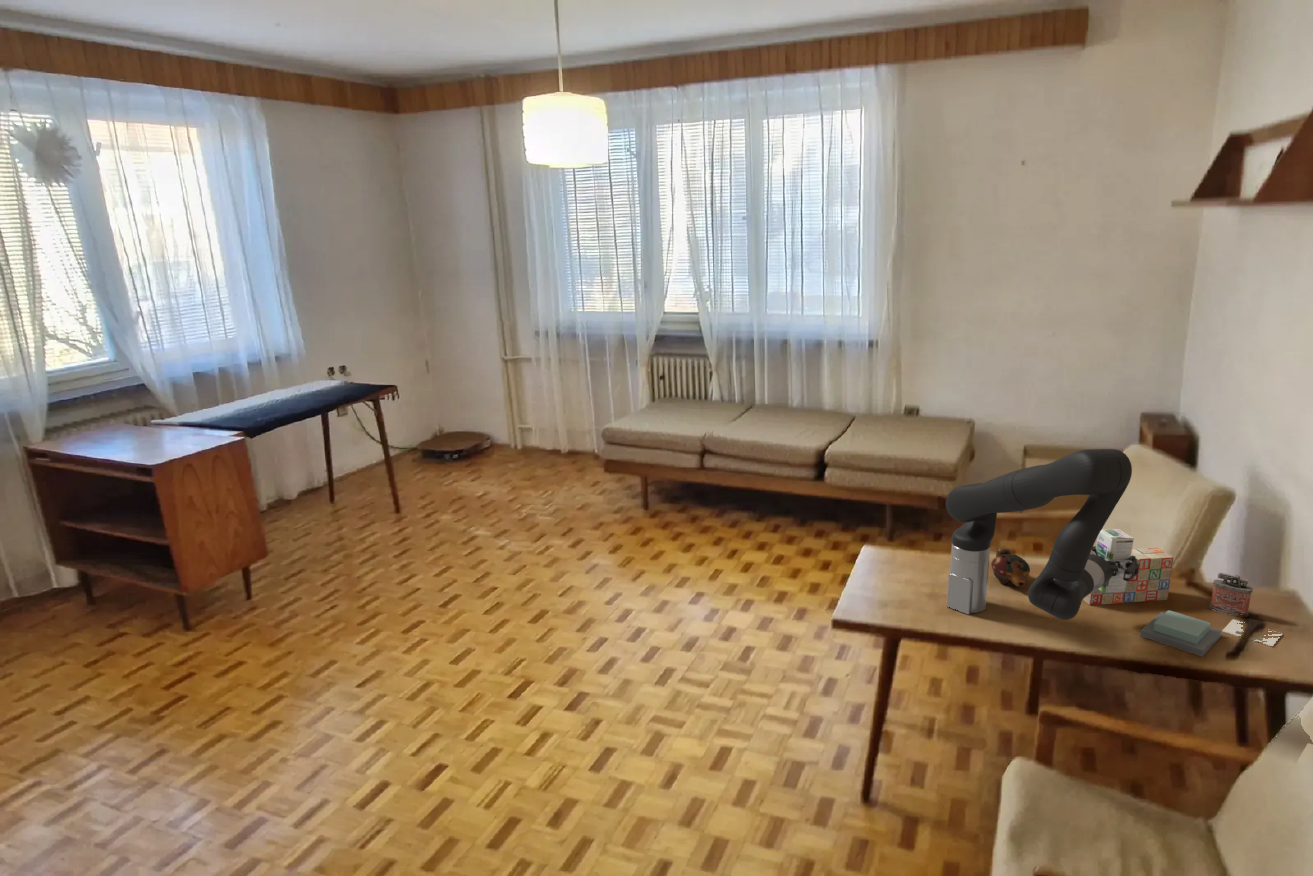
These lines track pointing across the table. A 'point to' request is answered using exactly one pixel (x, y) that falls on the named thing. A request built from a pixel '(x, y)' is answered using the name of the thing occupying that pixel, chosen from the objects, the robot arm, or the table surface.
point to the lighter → (1231, 595)
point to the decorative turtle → (1010, 567)
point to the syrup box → (1114, 555)
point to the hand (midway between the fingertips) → (1115, 554)
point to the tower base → (1181, 643)
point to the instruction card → (1237, 631)
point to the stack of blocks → (1141, 580)
